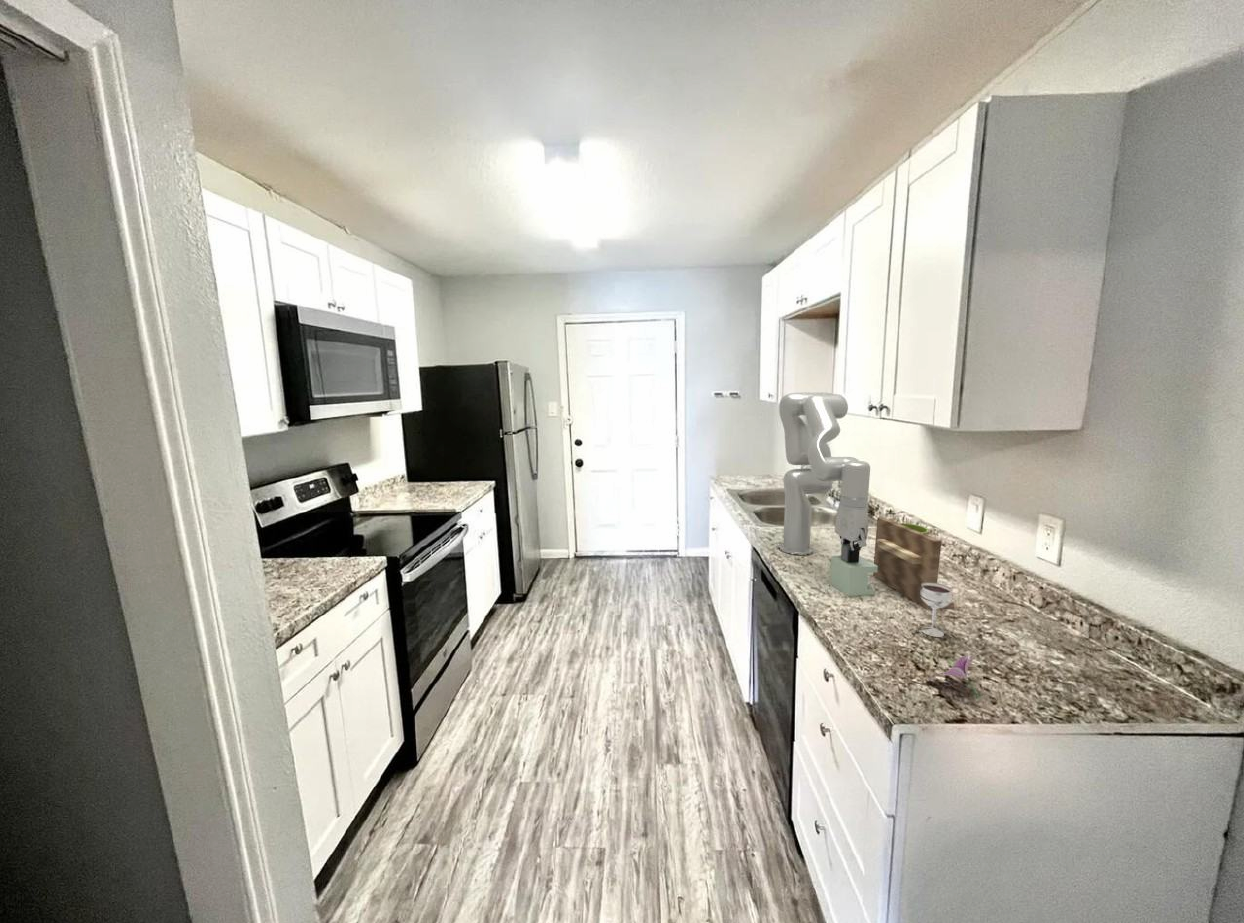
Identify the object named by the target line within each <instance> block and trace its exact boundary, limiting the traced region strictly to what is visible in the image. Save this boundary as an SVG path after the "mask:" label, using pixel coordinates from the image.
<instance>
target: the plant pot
mask: <svg viewBox="0 0 1244 923" xmlns="http://www.w3.org/2000/svg"><path fill="white" fill-rule="evenodd" d="M897 523H898V524H901V525H903V526H906V527H908V528H911V529H913V530H916V531H918V532H921V533H923V534H925V535H927V534H928V533H929V529H928V528H927V527H925V526H922V525H918V524H915V523H906V522H897Z"/></svg>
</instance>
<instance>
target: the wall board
mask: <svg viewBox="0 0 1244 923" xmlns="http://www.w3.org/2000/svg"><path fill="white" fill-rule="evenodd" d="M876 520H877V521H876V531H875V544H874V556H873V564H875V565H877V566H878V568H877V573H872V577H874V578H876V579H877V580H878V581H880V582H881V583H884V584H885V585H887V586H889V587H890V588H892V589H893V588H894V589H893V590H895V589H896V590H895V591H896V592H898V591H899V593H900V594H901V595H904V596H905V597H906V598H909V599H910V600H912V601H913V602H914V603H916V604H918V605H920V606H921V607H922V608H924V609H927V610H933V609H932V608H931V606H929V605H927V604H926V603H925V602H924V601H923V600H922V599H921V596H920V590H921V589H922V586H921V584H922V583H924V582H934V583H938V579H939V577H938V576H939V569H940V568H939V567H940V559H941V548H942V540H940V539H938V538H935V537H933V536H930V535H928V534H926V535H925V534H923V533H921V532H918V531H916V530H913V529H911V528H908V527H906V526H903V525H901V524H898V523H899V522H895V521H894V520H891V519H888V518H886V517H883V516H882V517H880V516H879V517H877V519H876ZM954 608H955V602H953V600H952V601H951V603H950V604H949V605H948V606H946V607H944V608H938V609H937V610H940V609H941V610H943V609H954Z"/></svg>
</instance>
